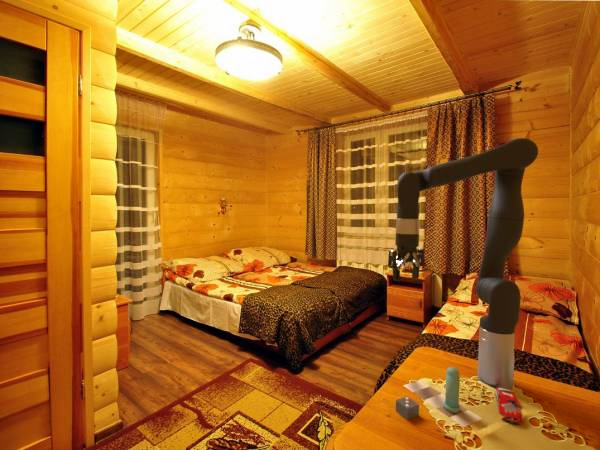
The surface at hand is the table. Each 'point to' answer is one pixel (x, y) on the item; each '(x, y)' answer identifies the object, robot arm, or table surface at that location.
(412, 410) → the die
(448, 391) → the pawn
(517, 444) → the table surface
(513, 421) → the race car
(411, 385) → the board
